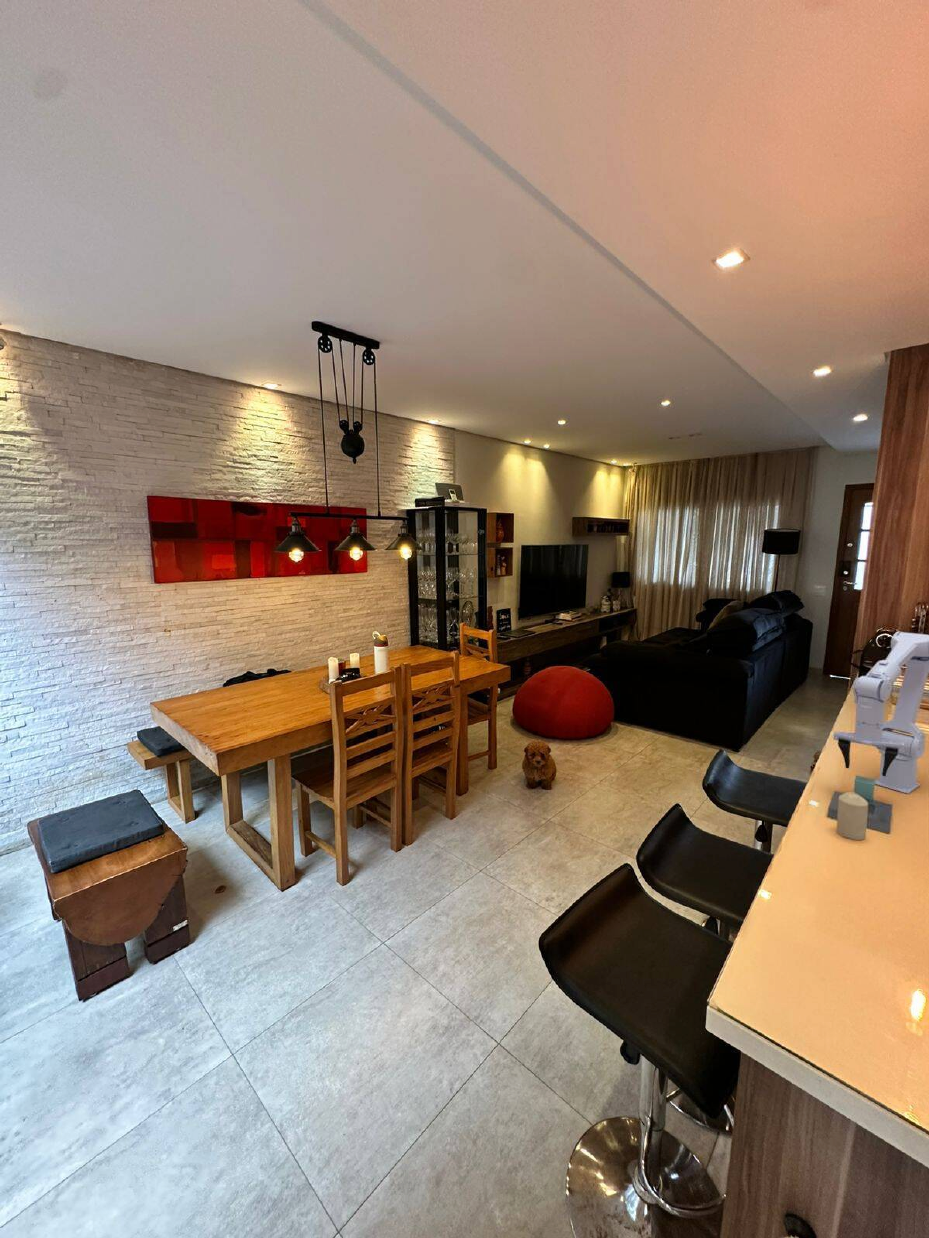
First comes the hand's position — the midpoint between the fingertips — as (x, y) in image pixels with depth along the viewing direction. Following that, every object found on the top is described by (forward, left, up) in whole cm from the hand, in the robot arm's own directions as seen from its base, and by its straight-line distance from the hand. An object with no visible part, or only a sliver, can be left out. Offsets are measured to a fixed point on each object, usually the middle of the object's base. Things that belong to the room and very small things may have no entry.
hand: (865, 770), depth 134 cm
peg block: (0, 0, -9) cm, 9 cm away
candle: (+21, +5, -9) cm, 24 cm away
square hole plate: (+10, +3, -8) cm, 13 cm away
